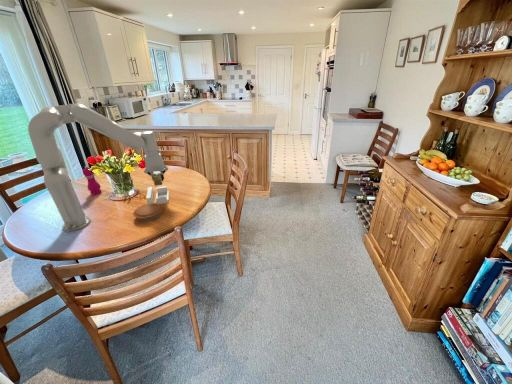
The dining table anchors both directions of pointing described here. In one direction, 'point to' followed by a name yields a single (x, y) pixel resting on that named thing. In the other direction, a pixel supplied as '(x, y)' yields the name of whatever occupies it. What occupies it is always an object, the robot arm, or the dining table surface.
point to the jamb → (158, 195)
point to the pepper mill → (92, 182)
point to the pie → (148, 211)
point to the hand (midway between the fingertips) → (158, 180)
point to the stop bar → (157, 178)
